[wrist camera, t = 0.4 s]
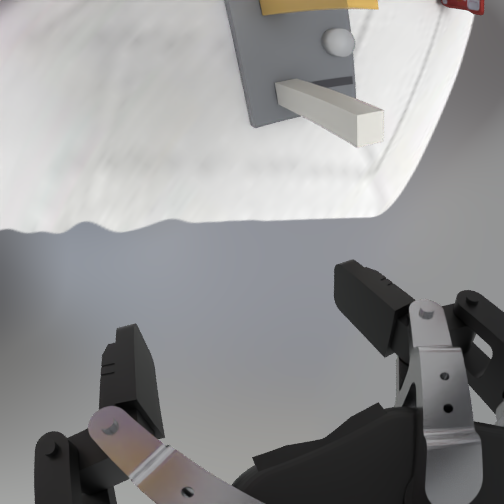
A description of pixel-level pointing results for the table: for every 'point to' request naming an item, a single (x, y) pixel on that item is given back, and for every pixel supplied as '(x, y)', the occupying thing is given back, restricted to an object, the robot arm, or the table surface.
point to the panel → (285, 55)
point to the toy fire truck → (466, 5)
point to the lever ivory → (333, 111)
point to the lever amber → (313, 5)
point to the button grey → (338, 42)
